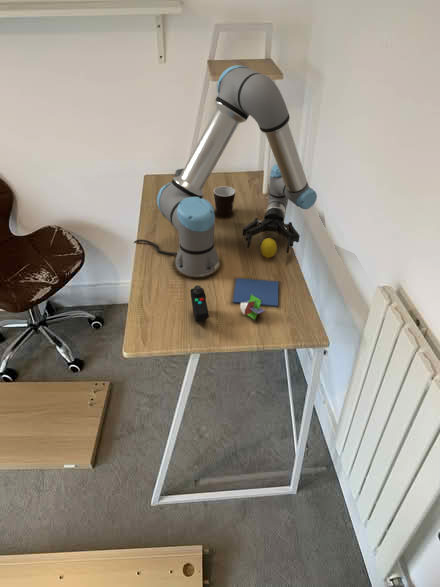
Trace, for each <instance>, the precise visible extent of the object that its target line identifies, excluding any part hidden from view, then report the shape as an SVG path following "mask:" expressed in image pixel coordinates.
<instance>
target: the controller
mask: <svg viewBox="0 0 440 587" xmlns="http://www.w3.org/2000/svg"><path fill="white" fill-rule="evenodd" d="M190 298H191V306H192V314H193V318H194V322H195V323H197V324H203V323H205V322H207V319H209V318H210V315H209V309H208V308H209V307H208V304H207V295H206V292H205V290H204V288H203V287H202V286H201V285H195V286H194V287H193V288H191V289H190Z"/></svg>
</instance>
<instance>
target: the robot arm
mask: <svg viewBox="0 0 440 587" xmlns="http://www.w3.org/2000/svg"><path fill="white" fill-rule="evenodd" d="M216 84H217V85H216V88H217V96H216V98H215V100H214V105H215V110H214V112H213V113H212V116H211V118H210V119H209V121H208V123H207V125H206V127H205V128H204V130H203V133H202V134H201V136H200V138H199V139H198V141H197V143H196V145H195V147H194V149H193V151H192V153H191V154H190V156H189V158H188V160H187V162H186V164H185V165H184V167H183V168H184V169H183V168H182V169H183V171H182V173H181V175H180V176H178V177H175V176H174V177H173V178H172V180H171V181H170V182H168V183H167V184H164V185H163V186H161V188H159V191H158V193H157V196H156V205H157V208H158V210H159V212H160V213H161V215H162V216H163V217H164V218H165V219H166V220H167V221H168V222H169V223H170V224H171V225H172V226H173V228H174V229H175V230H176V231H177V233H178V244H179V246H178V250H177V252H175V251H174V252H172V251H171V252H170V251H164V250H161V249H159V248H158V245H157V244H156V243H154V242H152V241H150V240H147V239H142V238H141V239H136V240H134V241H133V244H136V243H141V242H143V243H147V244H149V245H151V246H154V249H155V251H156V252H157V253H160V254H165V255H172V256H175V259H174V266H175V270H176V271H177V273H179V275H181V276H183V277H185V278H188V279H192V280H193V279H196V280H199V279H206V278H209V277H212V276H213V275H215V274H216V273H217V272H218V271H219V269H220V264H221V263H220V262H221V261H220V257H219V255H218V252H217V248H216V247H215V222H216V217H215V216H216V215H215V214H216V213H215V209H214V206H213V204H212V203H211V202H210V201H209V200H207V199H206V198H204V196H205V195H204V187H205V185H206V183H207V181H208V180H209V178H210V176H211V174H212V173H213V171H214V169H215V168H216V166H217V163H218V162H219V160H220V158H221V157H222V155H223V153H224V151H225V149H226V147H227V146H228V144H229V143H230V140H231V138H232V137H233V135H234V133H235V131H236V130H237V128H238V127H239V125H240V124H242V123H245V122H247V120H248V118H249V117H251V118H252V119H253V120H254V121H255V122H256V123H257V125H258V128H259V130H260V131H261V132H262V133H264V134H265V136H266V139H267V141H268V144H269V146H270V150H271V152H272V154H273V155H272V156H273V157H274V160H275V162H276V164H274V165H272V167H271V169H270V170H271V171H270V175H269V189H268V198H267V205H266V208H265V213H264V215H263V216H264V217H263V219H262V220H260V219H259V218H258V217H255V218H254V220H252V221H251V222H249V223H248V224H247V225H246V226H244V227H243V228H242V232H241V233H242V234H241V235H242V236H243V237H245V242H246V248H247V249H250V247H251V243H252V239H253V236H256V235H258V234H261V233H266V232H273V233H277V234H278V235H281V236H282V237H284V238H285V239H286V240H287V246H286V254H289V253H290V247H292V248H293V247H294V242H295V243H299V242H300V236H301V235H300V234H299V232H298V231H297V230H296V228H295V227H294V226H293V222H292V221H289V222H288V223H285V217H286V212H287V206H288V204H289V202H291V203H293V204H294V205H295V206H296V207H299V208H300V209H302V210H309V209H311V208H312V207H314V205H315V203H316V202H317V200H318V195H317V192H316V191H315V190H314V189H313V188H312V187H310V186H309V182H308V179H307V177H306V176H307V175H306V174H305V171H304V168H303V165H302V162H301V158H300V155H299V152H298V149H297V147H296V143H295V140H294V137H293V134H292V131H291V128H290V125H289V122H290V119H291V117H290V113H289V110H288V107H287V104H286V102H285V99H284V97H283V95H282V93H281V90H280V89H279V87H278V85H277V83H276V82H275V81H274V80H273V79H272V78H271V77H269V76H268V75H266V74H263V73H261V72H259V71H256V70H254V69H252V68H250V67H248V66H245V65H239V64H238V65H237V64H235V65H232V66H229V67H228V68H225V70H223V72H222V73H221V74H220V76H219V78H218V80H217V83H216Z"/></svg>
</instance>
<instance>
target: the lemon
mask: <svg viewBox="0 0 440 587" xmlns="http://www.w3.org/2000/svg"><path fill="white" fill-rule="evenodd" d="M277 245H278V244H277V243H276V240H275V239H273V238H271V237H268V238H264V239H263V241H262V242H261V245H260V253H261V254H262V256H263V257H265V258H267V259H268V258H272V257H274V256H275V255H276V253H277V249H278V246H277Z"/></svg>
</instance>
